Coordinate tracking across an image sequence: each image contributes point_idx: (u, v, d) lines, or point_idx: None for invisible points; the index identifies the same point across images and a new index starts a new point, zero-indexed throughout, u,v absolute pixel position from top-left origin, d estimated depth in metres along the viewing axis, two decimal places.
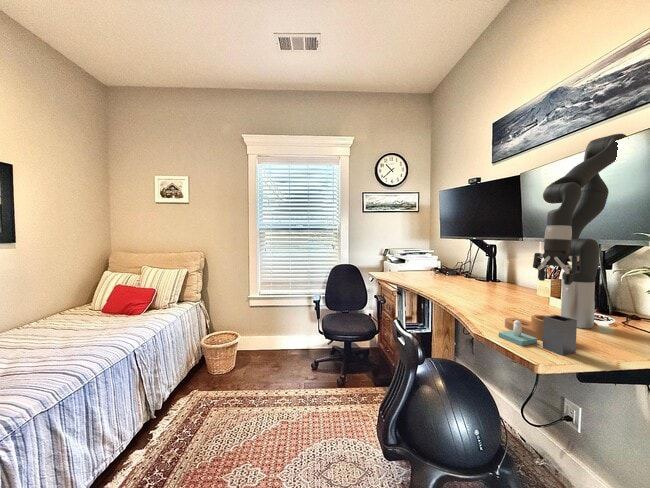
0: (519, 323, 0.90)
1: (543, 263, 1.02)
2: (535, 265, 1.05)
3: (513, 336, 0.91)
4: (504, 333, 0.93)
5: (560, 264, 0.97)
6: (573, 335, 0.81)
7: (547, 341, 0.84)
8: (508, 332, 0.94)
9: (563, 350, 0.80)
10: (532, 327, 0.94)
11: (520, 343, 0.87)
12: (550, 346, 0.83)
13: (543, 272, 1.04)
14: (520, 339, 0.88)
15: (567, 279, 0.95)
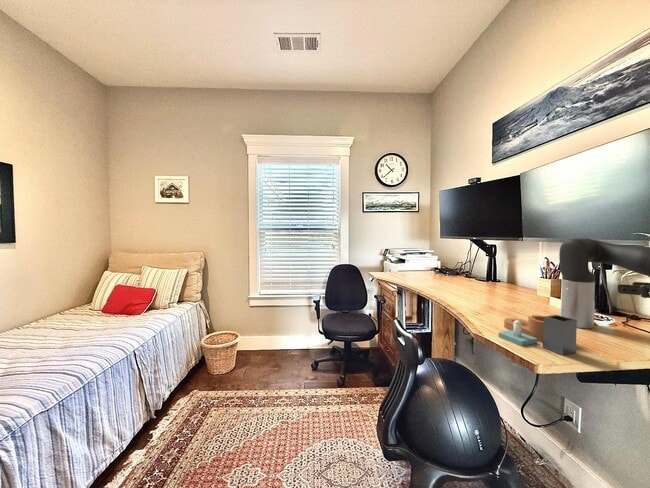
0: (519, 323, 0.90)
1: None
2: None
3: (513, 336, 0.91)
4: (504, 333, 0.93)
5: None
6: (573, 335, 0.81)
7: (547, 341, 0.84)
8: (508, 332, 0.94)
9: (563, 350, 0.80)
10: (528, 327, 0.94)
11: (520, 343, 0.87)
12: (550, 346, 0.83)
13: None
14: (520, 339, 0.88)
15: (628, 286, 0.66)
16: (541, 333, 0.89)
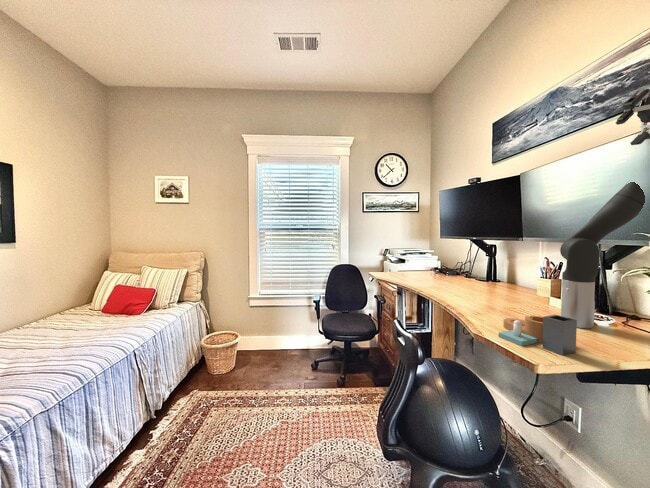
0: (519, 323, 0.90)
1: None
2: None
3: (513, 336, 0.91)
4: (504, 333, 0.93)
5: None
6: (573, 335, 0.81)
7: (547, 341, 0.84)
8: (508, 332, 0.94)
9: (563, 350, 0.80)
10: (525, 327, 0.94)
11: (520, 343, 0.87)
12: (550, 346, 0.83)
13: (642, 135, 0.82)
14: (520, 339, 0.88)
15: None
16: (536, 334, 0.89)
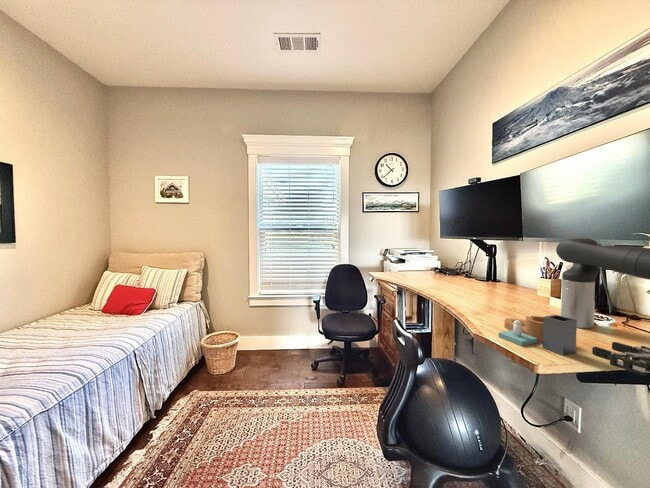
0: (519, 323, 0.90)
1: (645, 349, 0.67)
2: (645, 348, 0.69)
3: (513, 336, 0.91)
4: (504, 333, 0.93)
5: (633, 353, 0.65)
6: (573, 335, 0.81)
7: (547, 341, 0.84)
8: (508, 332, 0.94)
9: (563, 350, 0.80)
10: (525, 327, 0.94)
11: (520, 343, 0.87)
12: (550, 346, 0.83)
13: (627, 350, 0.71)
14: (520, 339, 0.88)
15: (601, 350, 0.69)
16: (536, 334, 0.89)
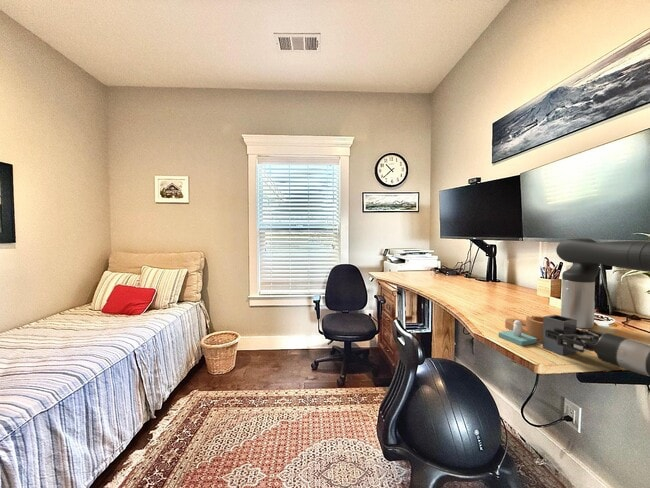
0: (519, 323, 0.90)
1: (589, 332, 0.78)
2: (591, 331, 0.80)
3: (513, 336, 0.91)
4: (504, 333, 0.93)
5: (577, 335, 0.76)
6: None
7: (547, 341, 0.84)
8: (508, 332, 0.94)
9: (563, 350, 0.80)
10: (526, 327, 0.94)
11: (520, 343, 0.87)
12: (550, 346, 0.83)
13: (576, 333, 0.82)
14: (520, 339, 0.88)
15: (552, 332, 0.80)
16: (537, 334, 0.89)
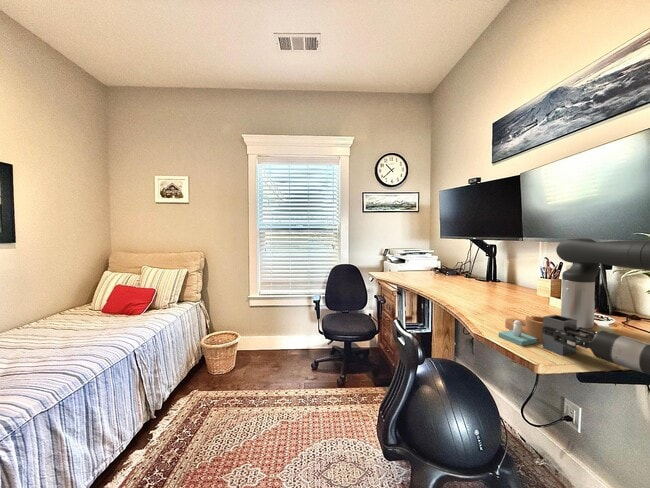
0: (519, 323, 0.90)
1: (582, 329, 0.79)
2: (582, 328, 0.82)
3: (513, 336, 0.91)
4: (504, 333, 0.93)
5: (573, 332, 0.78)
6: None
7: (547, 341, 0.84)
8: (508, 332, 0.94)
9: (563, 350, 0.80)
10: (525, 327, 0.94)
11: (520, 343, 0.87)
12: (550, 346, 0.83)
13: None
14: (520, 339, 0.88)
15: (549, 329, 0.83)
16: (535, 334, 0.89)
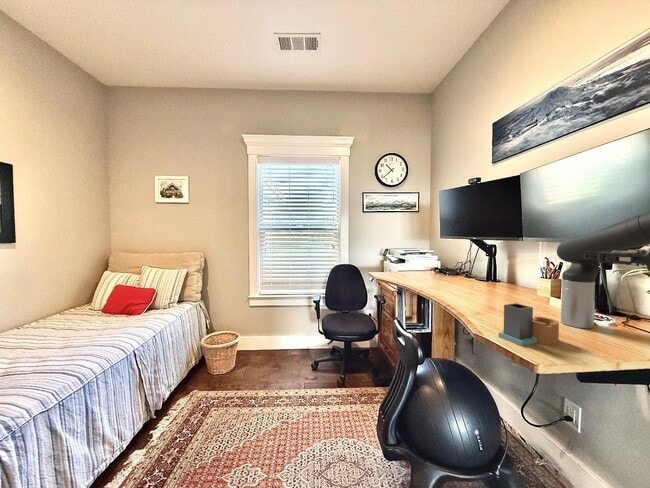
0: None
1: None
2: None
3: None
4: None
5: None
6: (529, 321, 0.89)
7: (507, 327, 0.92)
8: None
9: (519, 334, 0.88)
10: None
11: (520, 343, 0.87)
12: (509, 331, 0.91)
13: None
14: None
15: (591, 252, 0.72)
16: (535, 334, 0.89)
